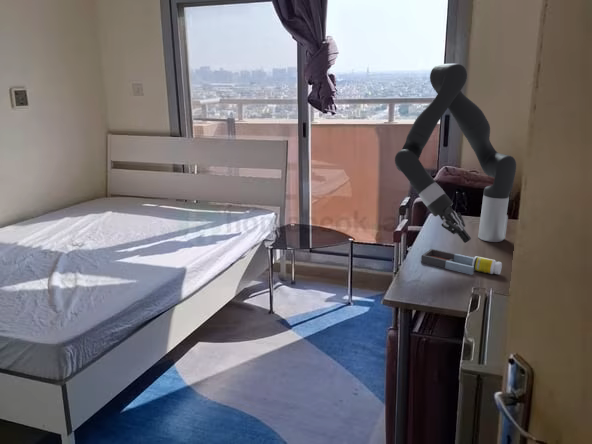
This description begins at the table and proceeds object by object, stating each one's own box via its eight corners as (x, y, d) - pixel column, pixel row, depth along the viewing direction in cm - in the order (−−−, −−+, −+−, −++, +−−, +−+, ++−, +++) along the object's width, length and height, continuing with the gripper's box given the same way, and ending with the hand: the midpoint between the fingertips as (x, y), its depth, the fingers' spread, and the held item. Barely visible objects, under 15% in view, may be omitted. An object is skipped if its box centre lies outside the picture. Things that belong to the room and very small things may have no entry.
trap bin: (421, 262, 176) (421, 255, 175) (430, 255, 182) (431, 248, 181) (445, 268, 171) (446, 261, 170) (454, 260, 177) (455, 253, 177)
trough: (445, 268, 170) (445, 261, 170) (454, 260, 178) (455, 253, 177) (472, 274, 165) (473, 267, 165) (481, 266, 173) (481, 259, 172)
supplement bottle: (470, 271, 168) (497, 277, 163) (472, 258, 167) (499, 263, 162) (475, 267, 172) (501, 273, 167) (476, 254, 170) (503, 259, 166)
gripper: (436, 196, 164) (470, 240, 161) (450, 188, 175) (483, 229, 171) (419, 209, 169) (452, 252, 166) (434, 201, 179) (465, 241, 176)
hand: (468, 240), depth 169 cm, fingers closed
